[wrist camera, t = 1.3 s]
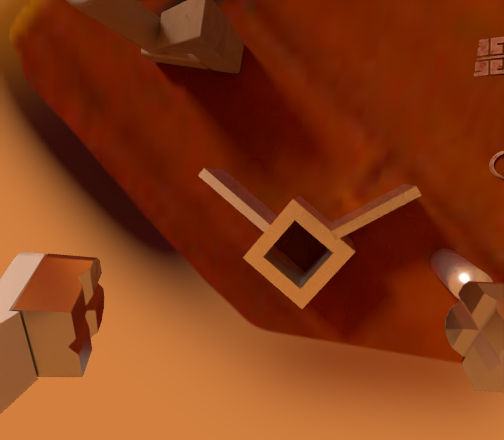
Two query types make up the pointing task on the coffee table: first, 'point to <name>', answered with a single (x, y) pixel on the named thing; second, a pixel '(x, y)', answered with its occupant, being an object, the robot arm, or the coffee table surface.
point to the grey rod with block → (173, 32)
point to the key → (493, 70)
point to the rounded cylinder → (455, 270)
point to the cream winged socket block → (327, 232)
